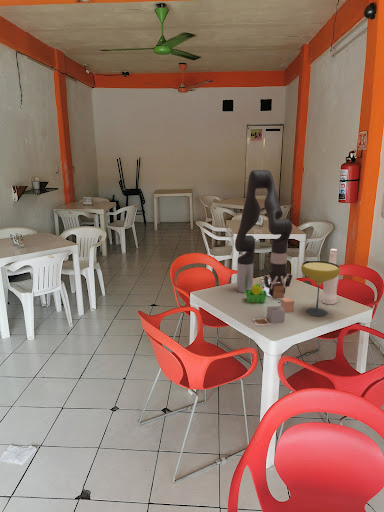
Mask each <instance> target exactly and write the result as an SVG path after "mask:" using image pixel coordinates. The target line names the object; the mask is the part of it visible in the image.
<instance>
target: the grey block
mask: <svg viewBox="0 0 384 512" xmlns="http://www.w3.org/2000/svg"><path fill="white" fill-rule="evenodd" d="M285 315H286V313H285V310H284V309H283V308H282V307H281V305H272V306H271V305H269V306H267V309H266V319H267V320H268V322H269V323H270V324H275V323H285Z"/></svg>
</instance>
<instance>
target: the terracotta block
mask: <svg viewBox="0 0 384 512" xmlns="http://www.w3.org/2000/svg"><path fill="white" fill-rule="evenodd" d="M280 306H281V307H282V308H283V309H284V310H285V314H287V313H294V310H295V309H294V308H295V301H294V300H293V299H292V298H291V297H284V298H280Z"/></svg>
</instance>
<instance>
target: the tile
mask: <svg viewBox="0 0 384 512" xmlns="http://www.w3.org/2000/svg"><path fill="white" fill-rule="evenodd" d="M251 321H252V322H253V323H254V326H256V327H261V326H263V327H264V326H271V325H272V323H271V322H270V321H269V319H268V318H267V317H266V318H265V317H264V318H253V319H251Z"/></svg>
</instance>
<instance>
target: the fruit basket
mask: <svg viewBox="0 0 384 512" xmlns="http://www.w3.org/2000/svg"><path fill="white" fill-rule="evenodd" d="M245 292H246V293H245V297H246V301H247V303H257V304H259V303H260V304H264V303H265V301H266V298H267V295H268V294H267V290H262V286H261V285H260V283H255V284H253V286H252V290H245Z"/></svg>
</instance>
